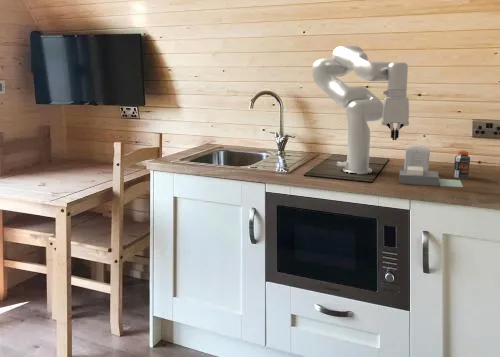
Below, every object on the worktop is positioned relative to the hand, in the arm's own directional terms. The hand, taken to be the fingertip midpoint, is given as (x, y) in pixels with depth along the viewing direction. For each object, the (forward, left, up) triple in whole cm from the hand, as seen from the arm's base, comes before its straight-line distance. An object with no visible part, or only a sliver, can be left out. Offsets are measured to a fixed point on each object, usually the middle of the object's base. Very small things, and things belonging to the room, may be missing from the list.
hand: (394, 139), depth 215 cm
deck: (+10, 0, -17) cm, 20 cm away
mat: (+22, 0, -17) cm, 28 cm away
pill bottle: (+28, +14, -17) cm, 35 cm away
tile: (+9, 0, -13) cm, 16 cm away
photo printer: (+10, +19, -17) cm, 27 cm away
